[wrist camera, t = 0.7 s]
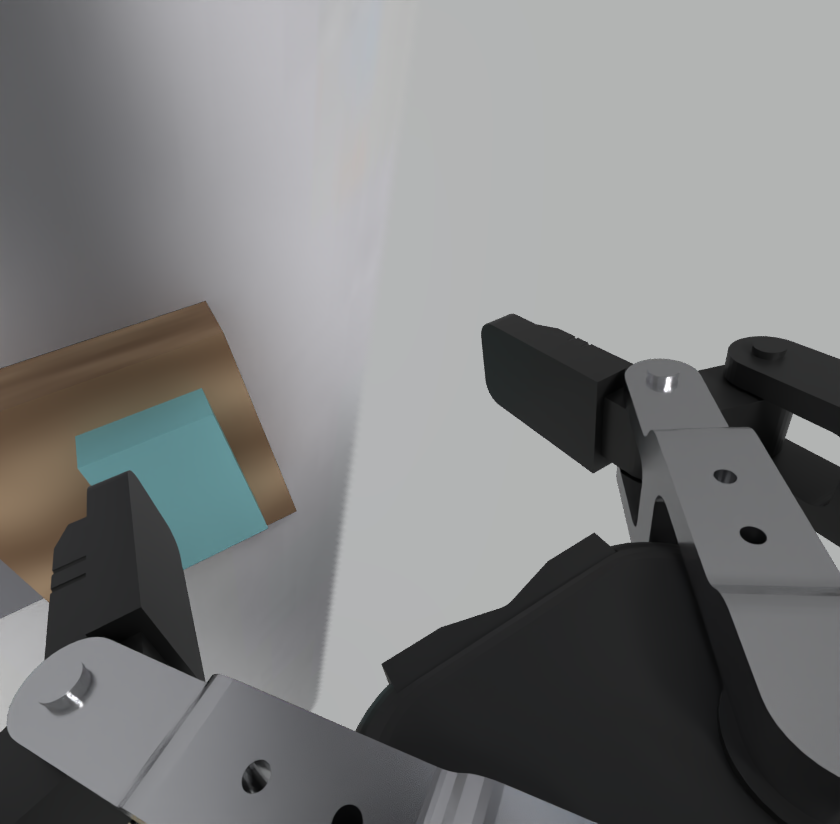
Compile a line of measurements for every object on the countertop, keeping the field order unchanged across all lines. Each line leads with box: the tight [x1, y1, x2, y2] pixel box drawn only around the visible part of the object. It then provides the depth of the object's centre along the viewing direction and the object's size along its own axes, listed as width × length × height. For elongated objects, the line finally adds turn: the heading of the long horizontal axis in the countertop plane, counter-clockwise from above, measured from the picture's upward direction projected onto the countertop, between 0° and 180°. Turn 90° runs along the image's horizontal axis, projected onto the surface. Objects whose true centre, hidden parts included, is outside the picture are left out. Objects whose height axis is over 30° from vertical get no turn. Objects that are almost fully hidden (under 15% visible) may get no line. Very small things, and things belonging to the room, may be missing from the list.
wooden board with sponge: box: [0, 301, 296, 602], centre depth 29 cm, size 14×14×4 cm
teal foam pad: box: [75, 388, 268, 570], centre depth 27 cm, size 9×6×2 cm, turn 6°
